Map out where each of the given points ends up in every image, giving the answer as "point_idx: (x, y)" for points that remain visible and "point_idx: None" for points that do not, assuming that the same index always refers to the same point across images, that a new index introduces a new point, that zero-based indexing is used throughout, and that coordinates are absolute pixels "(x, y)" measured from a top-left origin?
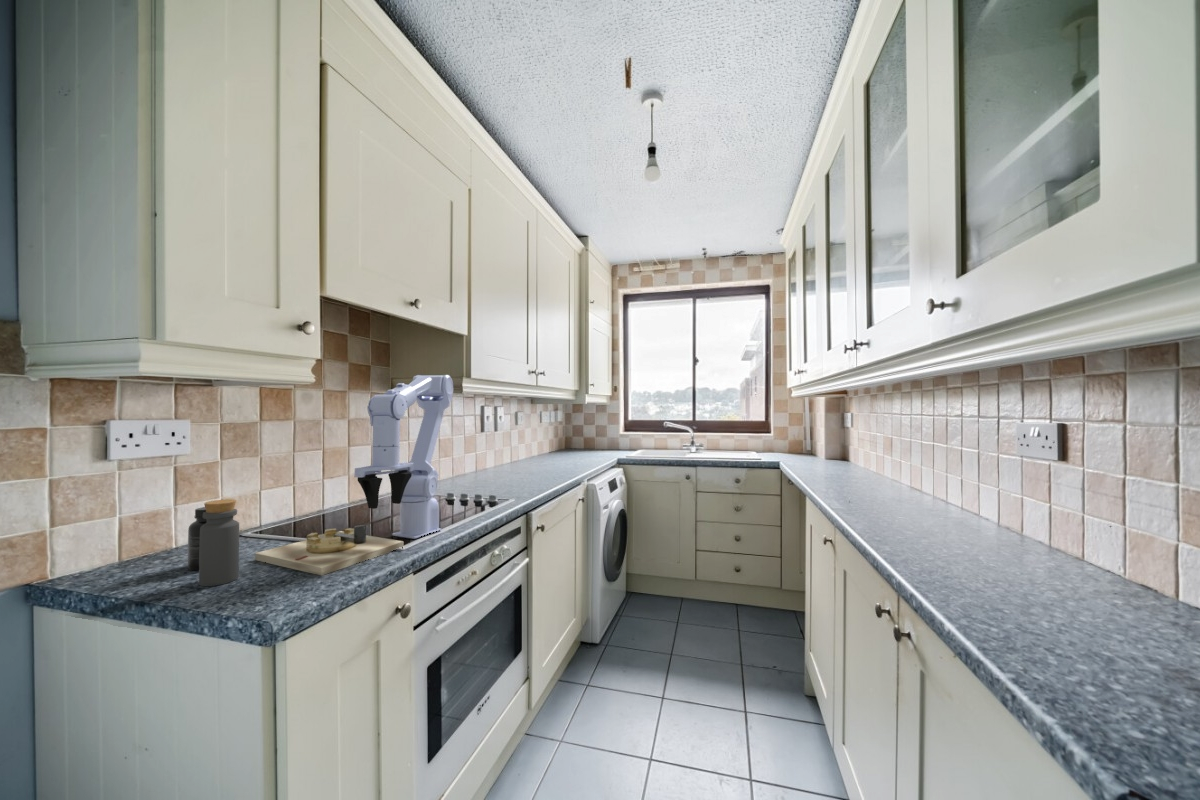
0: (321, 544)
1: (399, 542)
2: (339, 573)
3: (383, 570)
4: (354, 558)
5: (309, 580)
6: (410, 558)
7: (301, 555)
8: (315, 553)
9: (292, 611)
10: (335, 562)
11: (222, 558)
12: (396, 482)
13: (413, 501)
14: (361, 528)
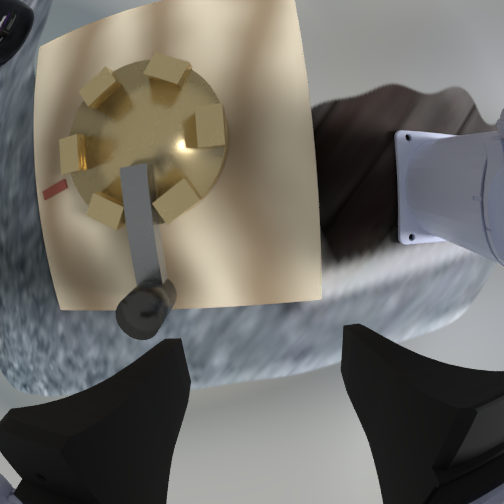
0: (81, 194)
1: (306, 297)
2: (97, 324)
3: None
4: None
5: (50, 306)
6: (256, 379)
7: None
8: None
9: (26, 387)
10: (89, 305)
11: None
12: (393, 444)
13: (493, 249)
14: (134, 335)
